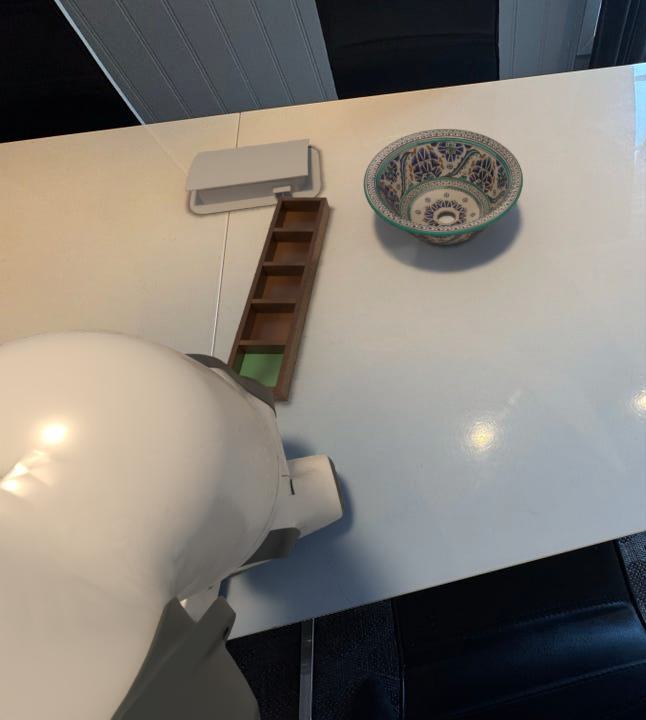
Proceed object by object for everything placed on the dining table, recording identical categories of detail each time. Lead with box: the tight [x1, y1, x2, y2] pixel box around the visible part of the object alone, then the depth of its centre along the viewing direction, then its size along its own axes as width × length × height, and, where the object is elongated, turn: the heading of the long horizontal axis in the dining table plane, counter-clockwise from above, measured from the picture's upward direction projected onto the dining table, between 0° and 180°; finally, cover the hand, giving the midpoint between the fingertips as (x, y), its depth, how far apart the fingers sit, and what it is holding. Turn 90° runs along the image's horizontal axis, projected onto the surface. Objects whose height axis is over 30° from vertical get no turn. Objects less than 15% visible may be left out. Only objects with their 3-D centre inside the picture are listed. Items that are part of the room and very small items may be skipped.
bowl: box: [363, 128, 524, 246], centre depth 83 cm, size 25×25×10 cm
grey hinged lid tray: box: [184, 138, 322, 215], centre depth 92 cm, size 15×23×4 cm, turn 102°
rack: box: [226, 196, 331, 402], centre depth 78 cm, size 8×38×3 cm, turn 0°
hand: (54, 577), depth 52 cm, fingers closed on supplement bottle, 5 cm apart
